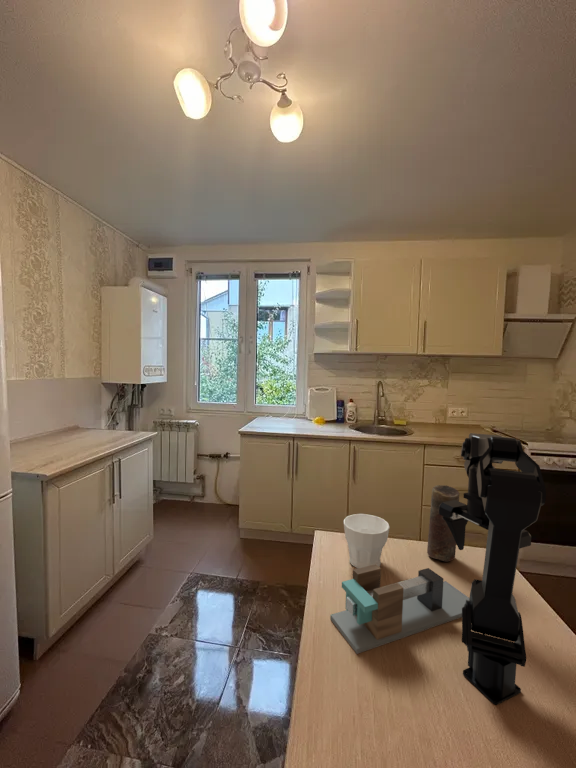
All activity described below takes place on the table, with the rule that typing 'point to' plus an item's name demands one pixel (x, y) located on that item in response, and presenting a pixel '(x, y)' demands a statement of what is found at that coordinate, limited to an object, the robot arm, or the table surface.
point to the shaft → (415, 591)
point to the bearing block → (381, 602)
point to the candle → (441, 525)
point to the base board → (413, 620)
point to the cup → (365, 538)
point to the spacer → (360, 600)
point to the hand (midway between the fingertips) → (478, 559)
